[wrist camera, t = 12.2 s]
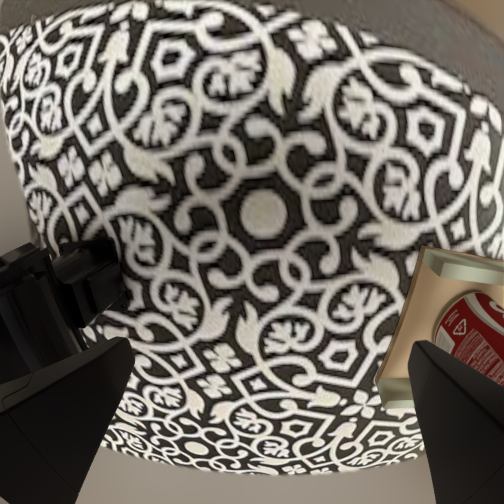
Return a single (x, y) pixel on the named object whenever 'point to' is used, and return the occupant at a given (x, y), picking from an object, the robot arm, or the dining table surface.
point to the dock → (432, 311)
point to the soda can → (474, 334)
